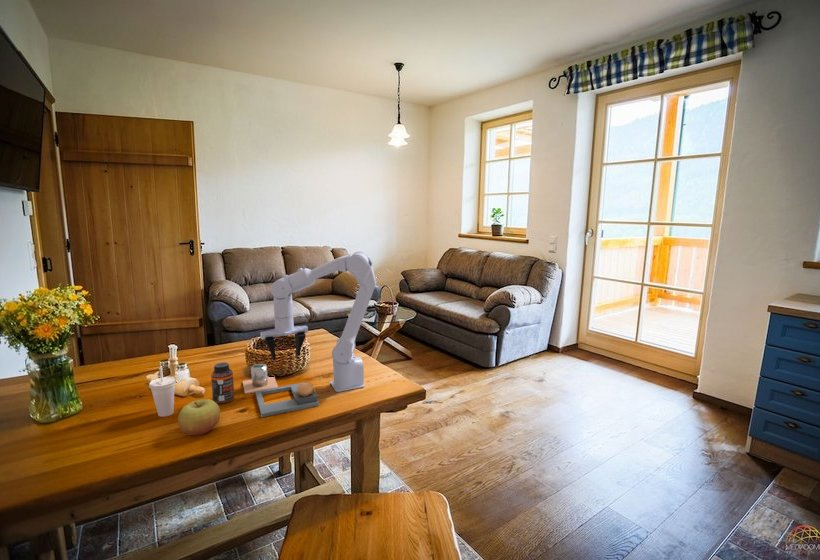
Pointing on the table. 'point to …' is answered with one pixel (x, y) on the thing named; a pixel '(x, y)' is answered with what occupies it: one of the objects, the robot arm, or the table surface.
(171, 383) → the smoothie
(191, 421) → the apple
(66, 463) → the table surface
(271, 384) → the coaster
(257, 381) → the cartridge
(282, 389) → the housing
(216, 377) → the supplement bottle
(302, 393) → the plunger
